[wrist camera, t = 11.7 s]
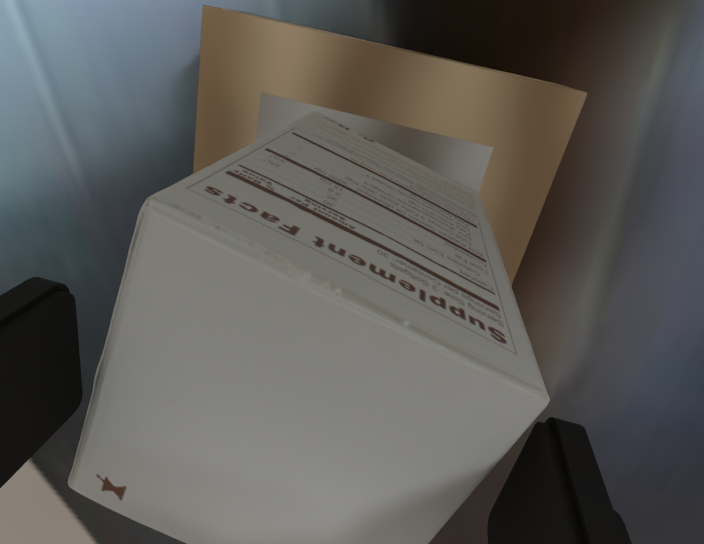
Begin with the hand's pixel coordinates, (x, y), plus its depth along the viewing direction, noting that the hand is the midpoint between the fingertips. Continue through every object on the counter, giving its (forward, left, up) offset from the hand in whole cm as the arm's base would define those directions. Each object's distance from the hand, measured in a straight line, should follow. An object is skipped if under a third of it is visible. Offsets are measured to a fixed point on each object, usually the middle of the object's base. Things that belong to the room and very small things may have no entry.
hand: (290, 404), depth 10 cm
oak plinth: (0, +1, -16) cm, 16 cm away
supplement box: (0, 0, -12) cm, 12 cm away
